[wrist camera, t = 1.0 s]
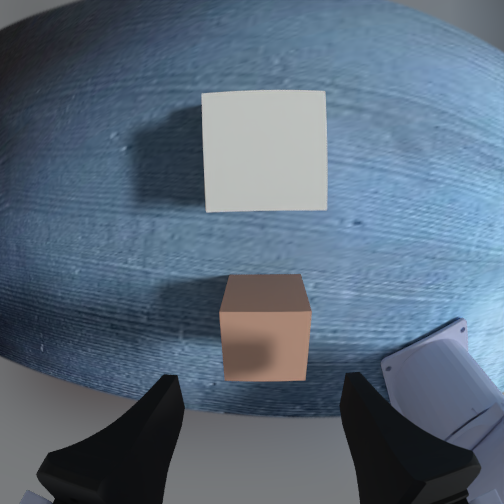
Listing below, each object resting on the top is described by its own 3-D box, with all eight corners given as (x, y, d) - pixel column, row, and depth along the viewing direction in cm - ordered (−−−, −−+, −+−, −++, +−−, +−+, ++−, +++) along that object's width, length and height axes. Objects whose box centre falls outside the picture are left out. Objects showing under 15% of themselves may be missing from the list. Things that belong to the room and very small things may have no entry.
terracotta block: (300, 273, 20) (311, 311, 15) (297, 333, 21) (305, 380, 16) (229, 274, 20) (219, 311, 15) (232, 334, 21) (225, 380, 16)
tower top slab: (313, 102, 14) (325, 91, 11) (315, 199, 15) (326, 210, 13) (213, 104, 14) (201, 93, 11) (216, 201, 16) (206, 212, 13)
